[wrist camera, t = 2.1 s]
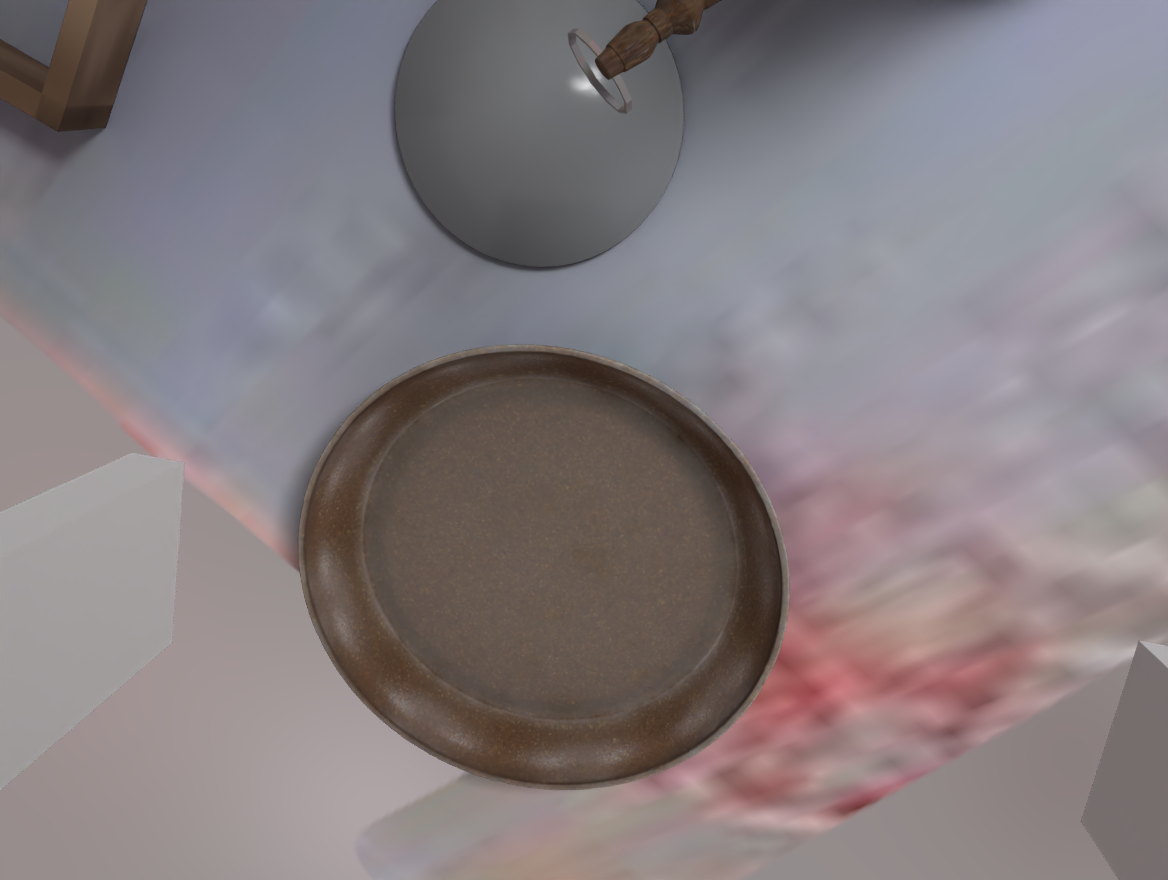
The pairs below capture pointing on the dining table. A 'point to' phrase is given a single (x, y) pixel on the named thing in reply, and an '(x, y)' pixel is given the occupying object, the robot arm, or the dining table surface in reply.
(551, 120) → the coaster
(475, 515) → the plant saucer
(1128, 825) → the robot arm
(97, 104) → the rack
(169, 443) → the dining table surface
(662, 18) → the coffee pot
